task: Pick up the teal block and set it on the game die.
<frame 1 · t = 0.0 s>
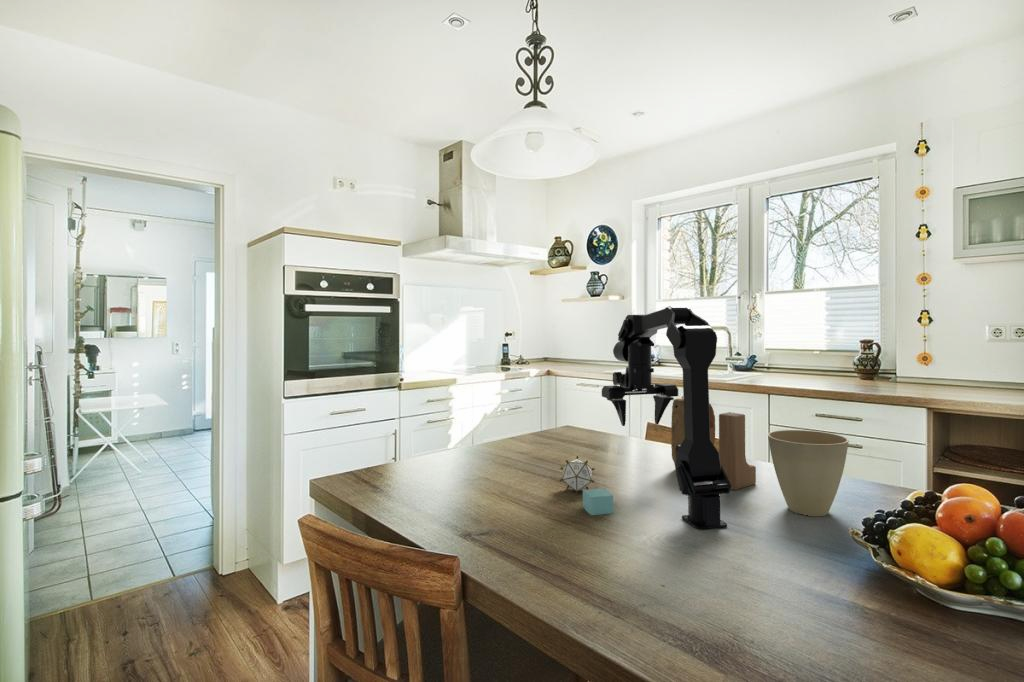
hand: (640, 424, 130), 15 cm above the table, tool pointing down, fingers open, 9 cm apart
teal block: (597, 510, 111), on the table
wooden block: (737, 485, 127), on the table
wooden upright piece: (694, 472, 139), on the table
game die: (577, 491, 124), on the table
plant pot: (806, 511, 109), on the table
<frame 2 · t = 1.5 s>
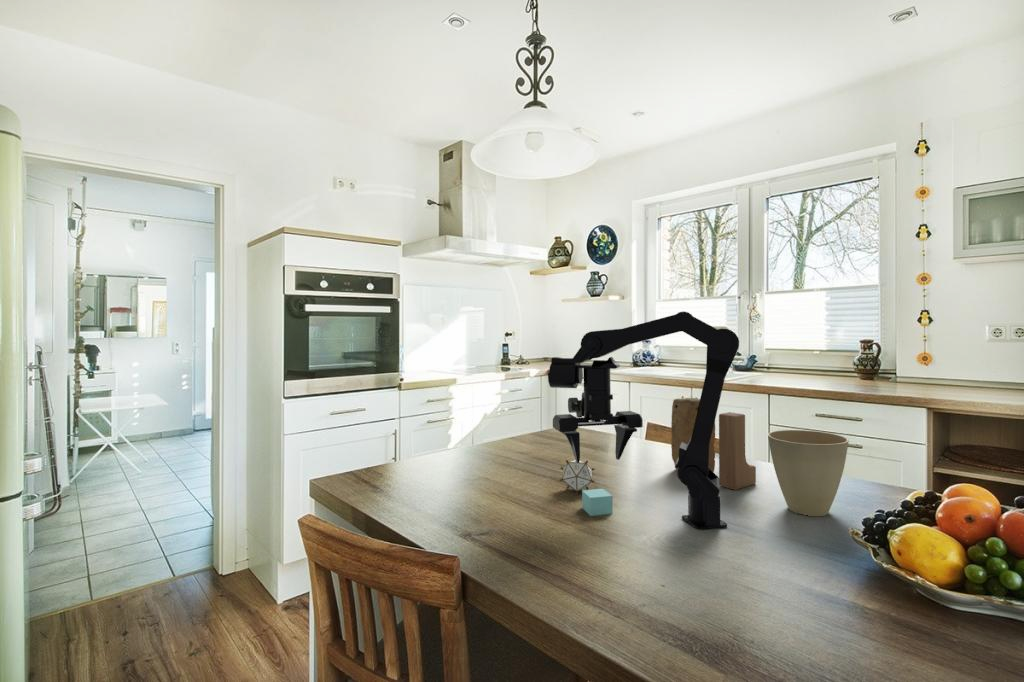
hand: (597, 460, 111), 11 cm above the table, tool pointing down, fingers open, 9 cm apart
nothing on the table moved.
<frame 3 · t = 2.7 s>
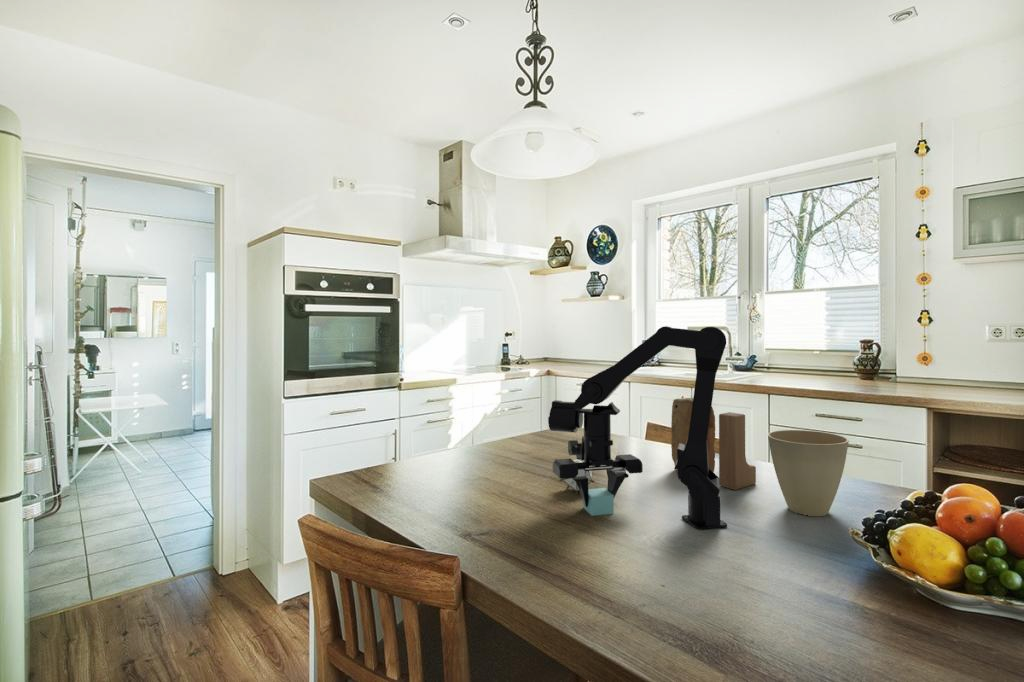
hand: (597, 505, 111), 1 cm above the table, tool pointing down, fingers closed on teal block, 5 cm apart
teal block: (598, 510, 111), on the table, touching gripper
everything else where it was.
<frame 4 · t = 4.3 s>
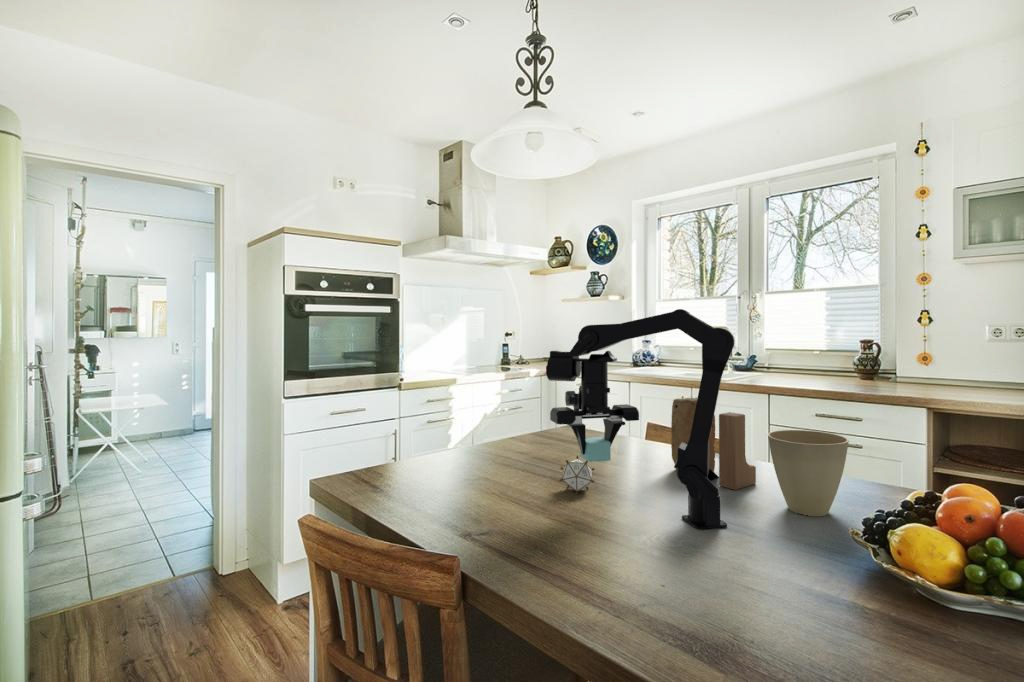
hand: (594, 453, 112), 12 cm above the table, tool pointing down, fingers closed on teal block, 5 cm apart
teal block: (595, 458, 112), point 11 cm above the table, touching gripper
everything else where it was.
when the fingers open (10 cm above the table, at t = 5.7 s): teal block drops 2 cm, resting on game die.
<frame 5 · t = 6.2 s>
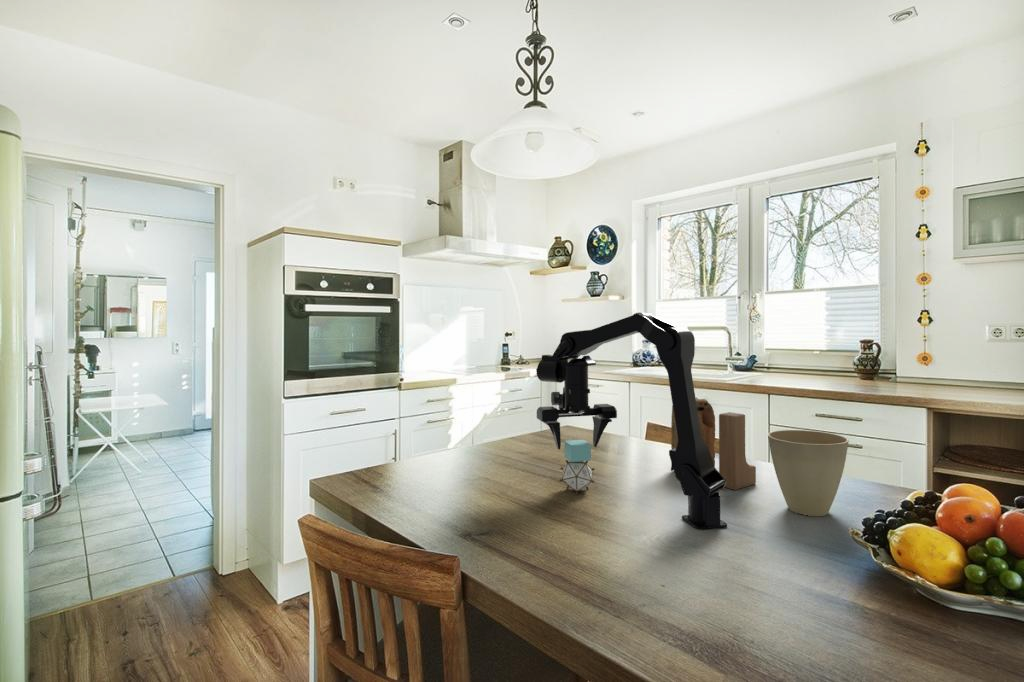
hand: (576, 448, 124), 10 cm above the table, tool pointing down, fingers open, 9 cm apart
teal block: (577, 458, 124), point 8 cm above the table, touching game die
game die: (577, 491, 124), on the table, touching teal block
everything else where it was.
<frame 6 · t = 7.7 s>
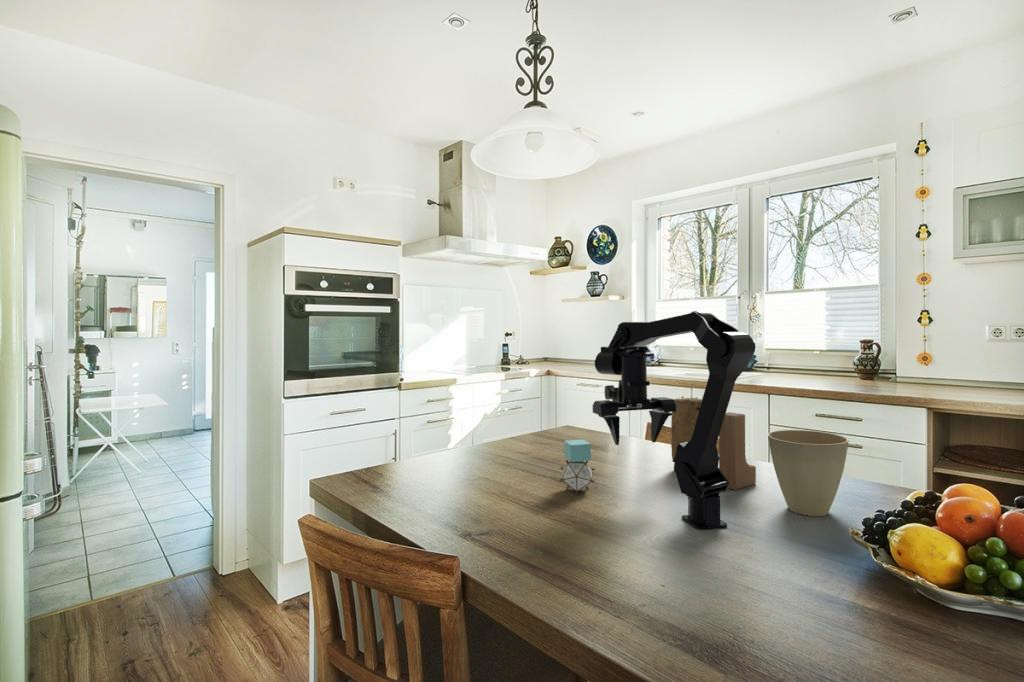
hand: (635, 443, 118), 13 cm above the table, tool pointing down, fingers open, 9 cm apart
nothing on the table moved.
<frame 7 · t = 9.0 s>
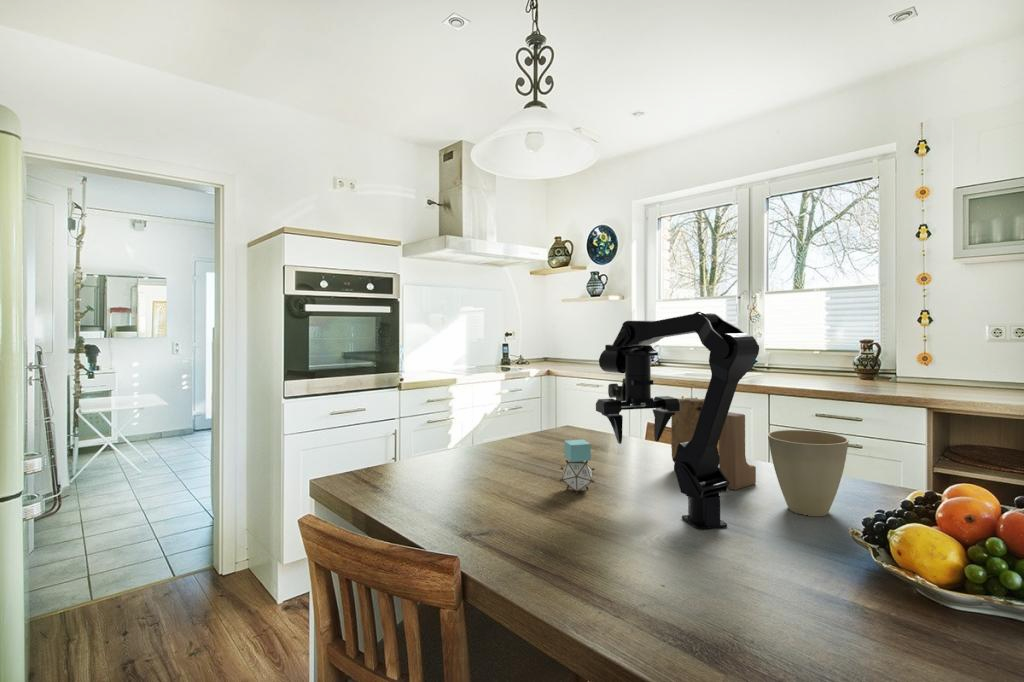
hand: (638, 442, 118), 13 cm above the table, tool pointing down, fingers open, 9 cm apart
nothing on the table moved.
at the end: teal block inside the target area on the game die (0.1 cm from its centre), point 8.2 cm above the game die's base; the gripper is holding nothing; teal block tilted 0° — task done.
